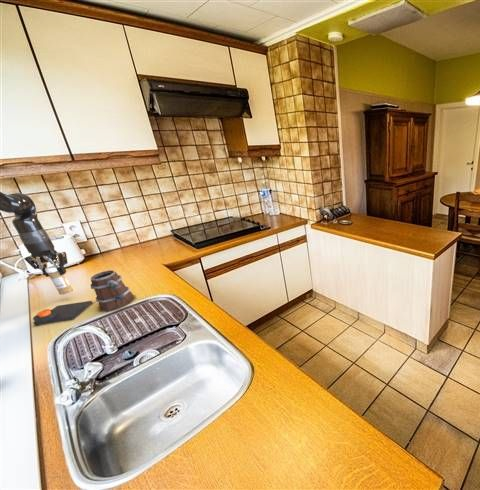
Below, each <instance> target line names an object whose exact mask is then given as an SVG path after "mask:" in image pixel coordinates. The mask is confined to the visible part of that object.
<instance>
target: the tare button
mask: <svg viewBox="0 0 480 490" xmlns="http://www.w3.org/2000/svg"><path fill="white" fill-rule="evenodd" d="M50 310H51V309H50V308H46V309H42V310H40V311H38V312H36V315H38V317H39V318H40V317H45V316H47V315H49V314H51V313H52V312H51V311H50Z"/></svg>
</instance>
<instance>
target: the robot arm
mask: <svg viewBox="0 0 480 490" xmlns="http://www.w3.org/2000/svg"><path fill="white" fill-rule="evenodd" d="M0 211H1V212H3V213H8V214H14V218H13V219H12V220H11V223H12V225H13V228H14V229H15V231H16V232H17V234H18V237H19V239H20V240H21V242H22V244H23V246H24V248H25V249H26V251H27V252H28V253H29V254H30V255H28V256H26V257H24V258H23V259H24V260H25V261H26V263H28V264H29V266H31V267H32V268H33V269H34V270H40V271H41V272H42V274H43V275H44V277H46V278H50V277H49V275H48V274H47V273H46V271H45V268H47V267H48V263H49V264H50V265H52V266H55V267H57V270H58V272H59V274H60V275H66V273H67V270H66V267H65V265H67V264H68V257H67V252H66V251H62V252H58V251H57V250H56V249H55V245H54V243H53V241H52V240H51V238H50V236H49V234H48V232H47V231H46V230H45V229H44V227H43V224H42V223H41V221H40V220H39V218H38V211H37V207H36V203H35V201H34V200H33V199H32V198H31V197H30V196H29V195H28V194H26V193H22V192H13V193H9V194H6V193H4V192H2V191H0Z"/></svg>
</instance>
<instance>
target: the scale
mask: <svg viewBox="0 0 480 490" xmlns="http://www.w3.org/2000/svg"><path fill="white" fill-rule="evenodd" d="M92 304H93V301H92V300H86V301H79V302H73V303H67V304H61V305H60V304H58V305H56V306H55V307H54V308H52V309H50V311H51V312H52V313H51V314H49V315H47V316H45V317H40V318H39V317H38V315H37V314H35V315H34V316H33V317H32V320H33V325H34V326H41V325H47V324H55V323H61V322H66V321H73V320H75V318H77V317H78V316H79V315H80V314H81V313H83V312H84V311H85V310H86V309H87V308H89V307H90V306H91V305H92Z"/></svg>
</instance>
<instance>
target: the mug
mask: <svg viewBox="0 0 480 490" xmlns="http://www.w3.org/2000/svg"><path fill="white" fill-rule="evenodd" d="M122 280H123V278H122V275H121V274H118V273H117V271H115V270H105V271H104V270H103V271H101V272H98V273H95V274H94V275H92V276H91V277H90V282H91V283H90V289H92V290H94V293H95V295H96V297H95V302H96V303H98V308H99V310H100V311H103V312H110V311H113V310H117V309H120V308H122V307H125V306H126V305H129V304H130V303H132V301H133V300H134V299H135V296H134V295H133V292H132V291H131V290H130V287H129V286H126V285H125V283H124V282H123V281H122Z"/></svg>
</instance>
